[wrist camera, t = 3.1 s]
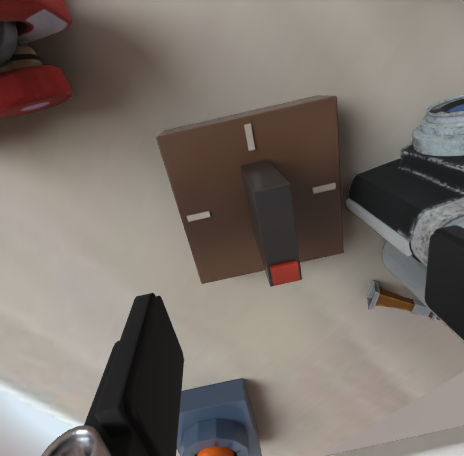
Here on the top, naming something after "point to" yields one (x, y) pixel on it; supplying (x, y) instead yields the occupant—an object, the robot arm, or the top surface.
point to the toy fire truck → (30, 56)
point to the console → (233, 190)
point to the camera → (417, 183)
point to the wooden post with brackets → (396, 302)
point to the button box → (217, 420)
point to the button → (216, 451)
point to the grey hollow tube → (408, 273)
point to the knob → (272, 221)
